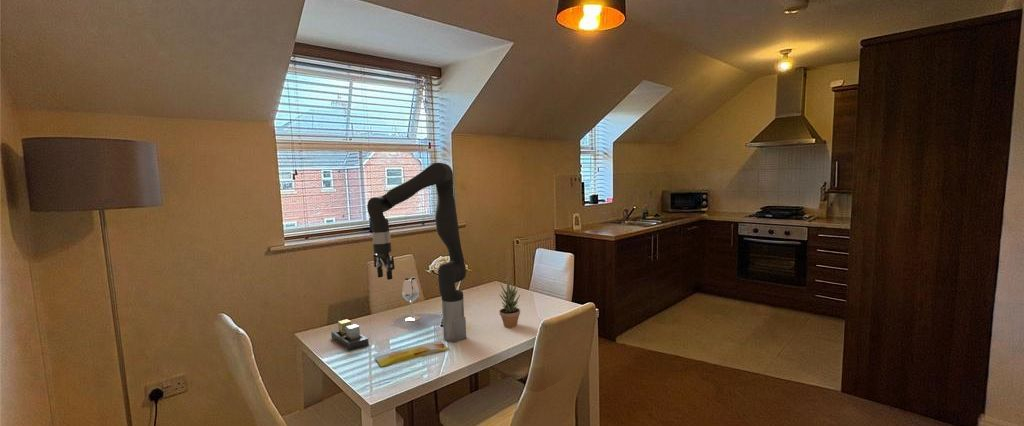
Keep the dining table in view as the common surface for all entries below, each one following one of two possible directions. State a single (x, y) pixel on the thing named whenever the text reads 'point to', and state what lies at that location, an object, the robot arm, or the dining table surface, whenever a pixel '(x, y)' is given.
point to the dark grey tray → (352, 344)
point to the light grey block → (353, 332)
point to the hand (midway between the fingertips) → (385, 278)
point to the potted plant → (509, 306)
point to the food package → (410, 353)
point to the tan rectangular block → (343, 326)
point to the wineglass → (410, 295)
